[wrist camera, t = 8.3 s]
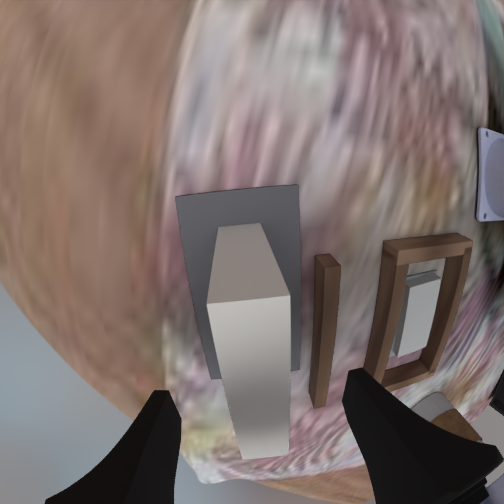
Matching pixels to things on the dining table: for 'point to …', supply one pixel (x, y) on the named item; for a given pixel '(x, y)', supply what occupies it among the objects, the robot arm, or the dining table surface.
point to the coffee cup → (445, 416)
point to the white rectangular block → (252, 338)
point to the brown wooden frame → (389, 310)
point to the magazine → (499, 397)
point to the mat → (239, 213)
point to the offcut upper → (416, 314)
